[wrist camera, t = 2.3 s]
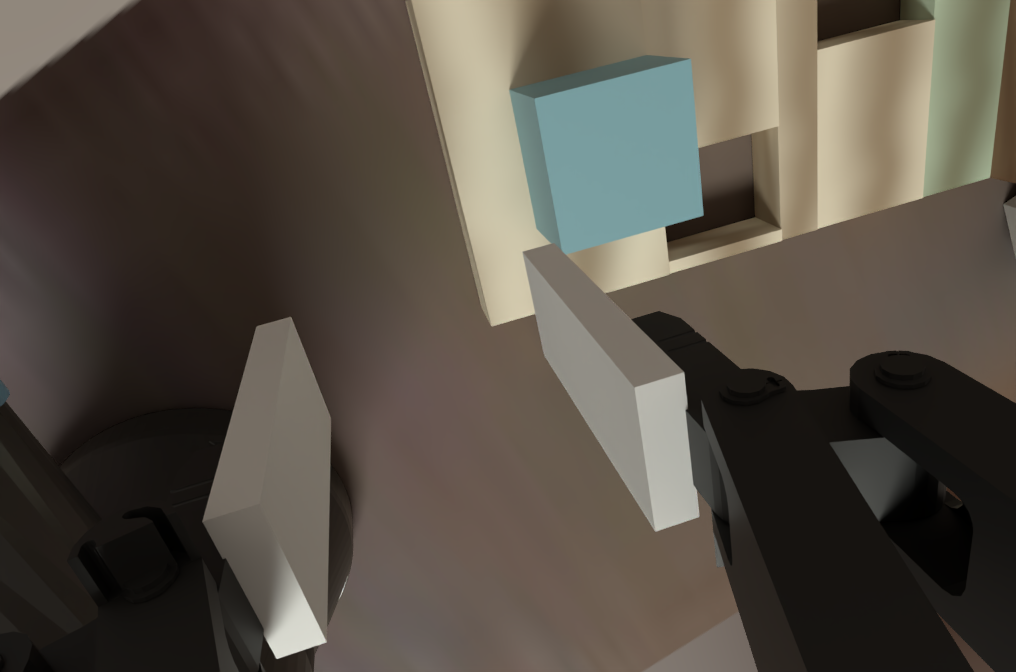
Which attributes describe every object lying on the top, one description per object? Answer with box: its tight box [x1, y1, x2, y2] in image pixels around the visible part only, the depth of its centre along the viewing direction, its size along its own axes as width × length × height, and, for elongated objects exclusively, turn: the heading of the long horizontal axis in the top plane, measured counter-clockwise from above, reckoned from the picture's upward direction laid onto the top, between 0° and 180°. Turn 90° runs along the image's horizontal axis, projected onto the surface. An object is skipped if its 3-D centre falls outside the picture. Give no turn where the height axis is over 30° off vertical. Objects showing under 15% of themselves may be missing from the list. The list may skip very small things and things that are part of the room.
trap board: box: [405, 0, 1016, 326], centre depth 30 cm, size 28×14×5 cm, turn 102°
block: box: [509, 55, 704, 254], centre depth 27 cm, size 6×6×4 cm
